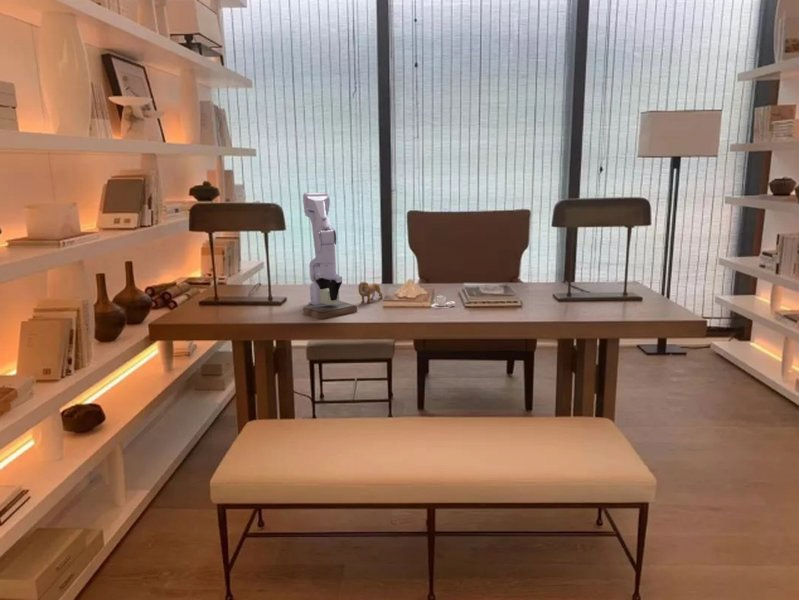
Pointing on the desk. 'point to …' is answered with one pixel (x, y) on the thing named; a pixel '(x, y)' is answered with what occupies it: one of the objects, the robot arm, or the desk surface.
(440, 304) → the teacup and saucer
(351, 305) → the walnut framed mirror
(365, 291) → the lion figurine
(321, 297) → the sage block
